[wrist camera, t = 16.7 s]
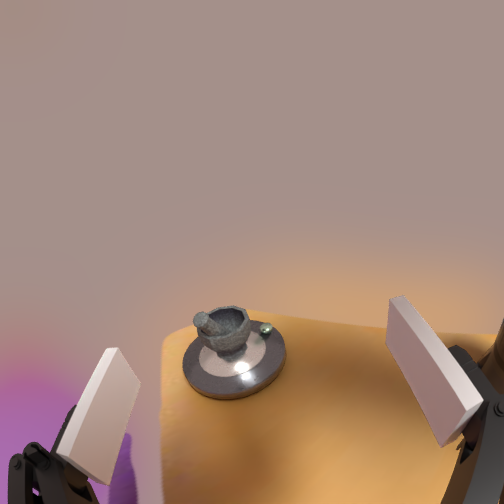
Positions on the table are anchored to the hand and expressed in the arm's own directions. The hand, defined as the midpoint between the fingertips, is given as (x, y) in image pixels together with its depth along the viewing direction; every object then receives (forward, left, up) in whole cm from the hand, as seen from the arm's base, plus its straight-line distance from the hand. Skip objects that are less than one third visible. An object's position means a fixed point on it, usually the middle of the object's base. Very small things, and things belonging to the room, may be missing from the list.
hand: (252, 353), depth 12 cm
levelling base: (+9, -30, -30) cm, 43 cm away
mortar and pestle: (+9, -30, -26) cm, 41 cm away
